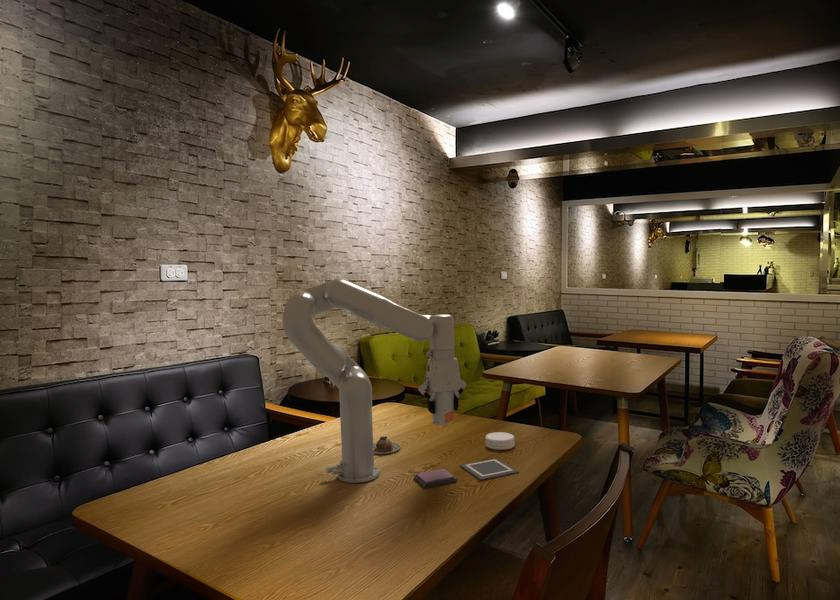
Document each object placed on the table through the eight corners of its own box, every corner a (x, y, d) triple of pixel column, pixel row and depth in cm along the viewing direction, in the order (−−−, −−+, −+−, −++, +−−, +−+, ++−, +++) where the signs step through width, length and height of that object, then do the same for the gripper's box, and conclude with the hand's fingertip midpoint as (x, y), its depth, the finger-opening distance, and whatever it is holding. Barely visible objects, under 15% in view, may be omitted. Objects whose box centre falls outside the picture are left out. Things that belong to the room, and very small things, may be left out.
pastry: (399, 456, 178) (399, 442, 178) (364, 457, 178) (363, 443, 178) (401, 444, 190) (401, 431, 190) (368, 445, 190) (367, 433, 190)
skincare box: (444, 426, 162) (443, 387, 161) (432, 424, 164) (431, 386, 164) (454, 421, 166) (454, 383, 166) (443, 419, 169) (442, 382, 168)
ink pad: (424, 488, 149) (424, 483, 149) (414, 478, 157) (413, 473, 157) (456, 481, 153) (456, 476, 153) (444, 472, 161) (444, 467, 161)
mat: (480, 480, 154) (480, 478, 154) (460, 466, 166) (459, 464, 166) (518, 472, 159) (518, 470, 159) (496, 459, 171) (496, 457, 171)
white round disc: (513, 441, 189) (513, 431, 189) (515, 450, 179) (515, 440, 179) (485, 441, 190) (485, 431, 190) (485, 450, 180) (485, 440, 180)
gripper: (421, 358, 157) (422, 417, 158) (472, 353, 164) (473, 410, 165) (411, 355, 164) (412, 412, 165) (461, 350, 171) (462, 405, 172)
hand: (443, 410), depth 165 cm, fingers closed on skincare box, 7 cm apart
